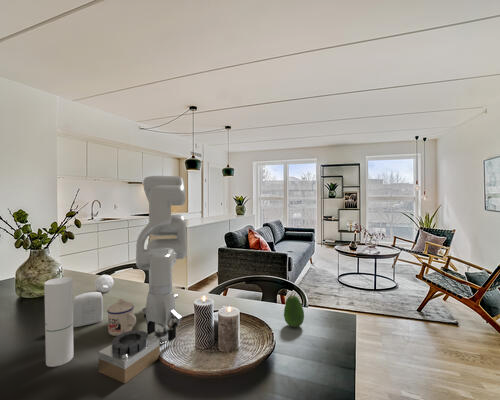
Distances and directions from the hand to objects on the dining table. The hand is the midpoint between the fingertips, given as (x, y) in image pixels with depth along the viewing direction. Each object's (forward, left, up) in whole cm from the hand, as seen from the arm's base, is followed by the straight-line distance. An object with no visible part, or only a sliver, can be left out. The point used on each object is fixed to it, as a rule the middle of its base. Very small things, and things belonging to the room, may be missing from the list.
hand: (161, 336), depth 96 cm
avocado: (-31, +39, -2) cm, 50 cm away
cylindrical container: (+22, -21, -2) cm, 30 cm away
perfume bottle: (-22, -62, -2) cm, 66 cm away
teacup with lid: (+1, -18, -2) cm, 18 cm away
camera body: (+14, +1, -2) cm, 14 cm away
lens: (0, 0, -2) cm, 2 cm away
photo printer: (+3, -36, -2) cm, 36 cm away
